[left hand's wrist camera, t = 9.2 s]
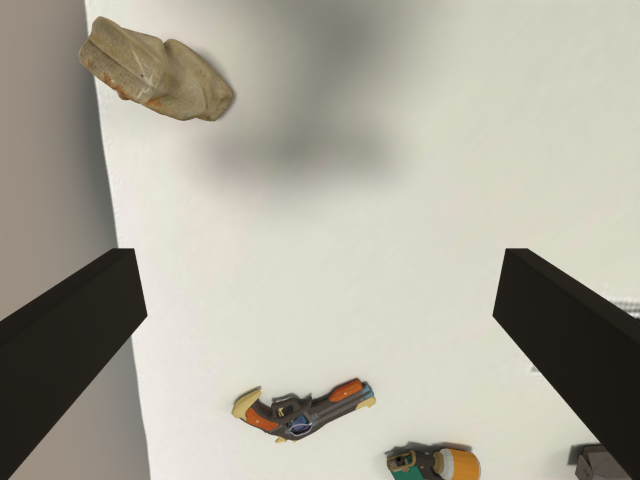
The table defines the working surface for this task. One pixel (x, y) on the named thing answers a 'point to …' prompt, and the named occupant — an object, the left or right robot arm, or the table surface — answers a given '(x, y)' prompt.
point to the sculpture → (154, 72)
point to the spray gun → (435, 466)
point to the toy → (599, 465)
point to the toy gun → (302, 411)
